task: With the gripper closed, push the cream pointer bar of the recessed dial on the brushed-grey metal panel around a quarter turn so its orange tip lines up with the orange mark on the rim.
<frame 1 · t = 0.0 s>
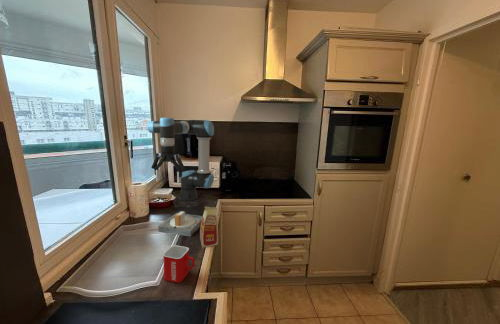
hand: (168, 181, 126), 28 cm above the counter, fingers open, 13 cm apart
mug: (180, 276, 89), on the counter
dial: (183, 217, 131), point 6 cm above the counter, hinge at 0.0°
milk carton: (209, 241, 116), on the counter
panel: (183, 226, 132), on the counter
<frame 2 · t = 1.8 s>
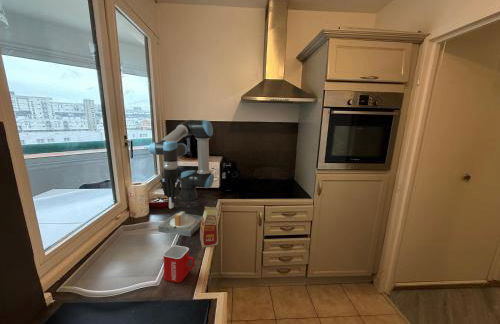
hand: (171, 207, 127), 13 cm above the counter, fingers closed
nothing on the counter moved.
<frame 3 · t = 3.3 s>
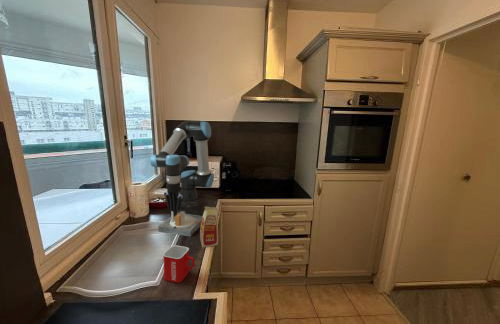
hand: (173, 220, 127), 5 cm above the counter, fingers closed
dial: (183, 217, 131), point 6 cm above the counter, hinge at 1.9°, touching gripper
everything else where it was.
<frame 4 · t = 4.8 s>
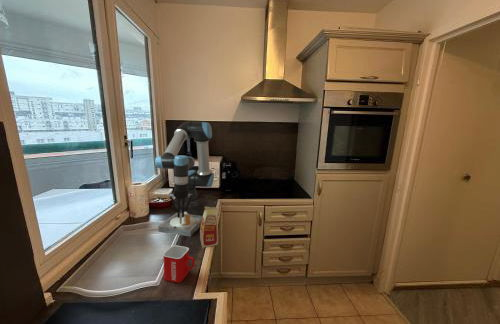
hand: (180, 222, 125), 5 cm above the counter, fingers closed
dial: (183, 217, 131), point 6 cm above the counter, hinge at 52.4°, touching gripper
everything else where it was.
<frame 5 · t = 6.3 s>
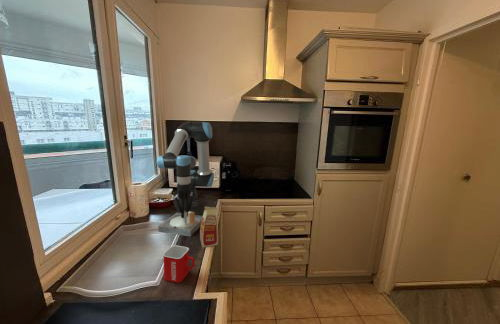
hand: (184, 222, 126), 5 cm above the counter, fingers closed
dial: (183, 217, 131), point 6 cm above the counter, hinge at 88.8°
everything else where it was.
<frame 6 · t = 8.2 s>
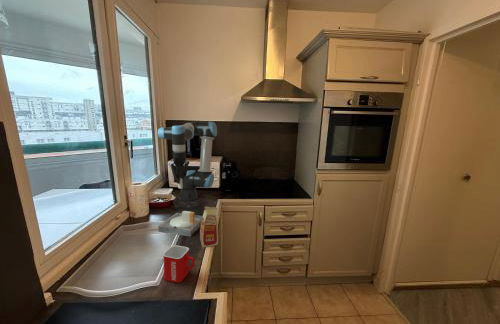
hand: (180, 188, 136), 21 cm above the counter, fingers closed
nothing on the counter moved.
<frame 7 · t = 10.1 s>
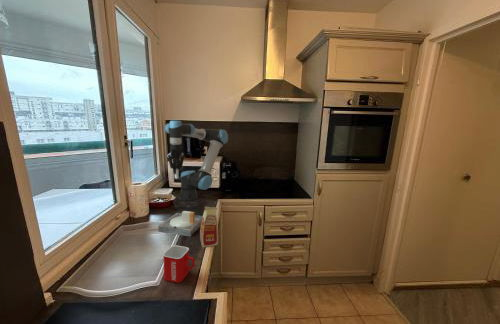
hand: (176, 178, 149), 24 cm above the counter, fingers closed
nothing on the counter moved.
at the end: dial at +89° (first picture: +0°); the gripper is holding nothing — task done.
